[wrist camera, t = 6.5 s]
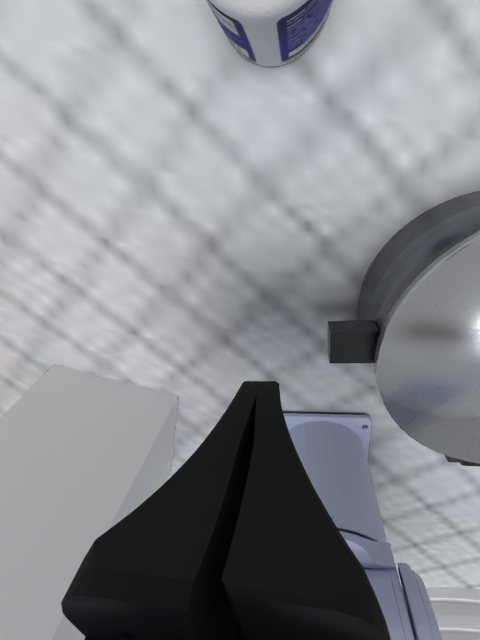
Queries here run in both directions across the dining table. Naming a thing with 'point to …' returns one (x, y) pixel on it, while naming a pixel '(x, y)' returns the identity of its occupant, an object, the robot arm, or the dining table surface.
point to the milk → (71, 485)
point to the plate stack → (456, 612)
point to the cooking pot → (401, 275)
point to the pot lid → (436, 355)
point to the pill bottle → (271, 27)
